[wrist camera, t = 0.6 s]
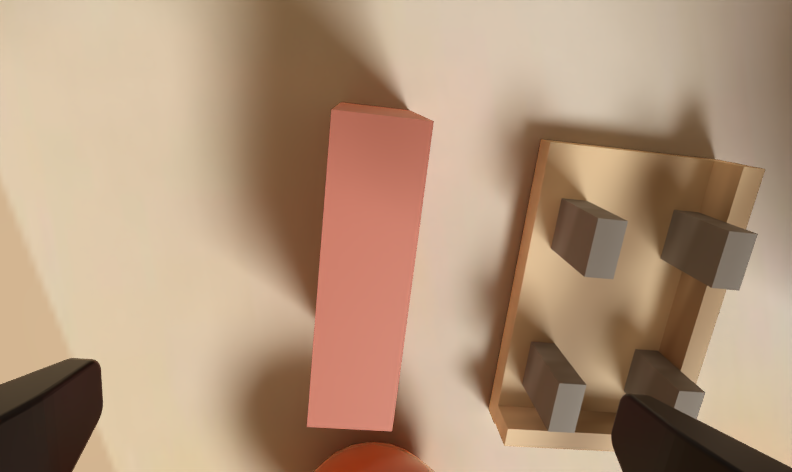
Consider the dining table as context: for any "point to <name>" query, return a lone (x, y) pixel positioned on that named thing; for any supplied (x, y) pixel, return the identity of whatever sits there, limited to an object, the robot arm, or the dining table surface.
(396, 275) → the pink rectangular block
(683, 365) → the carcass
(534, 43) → the dining table surface
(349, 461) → the tomato
